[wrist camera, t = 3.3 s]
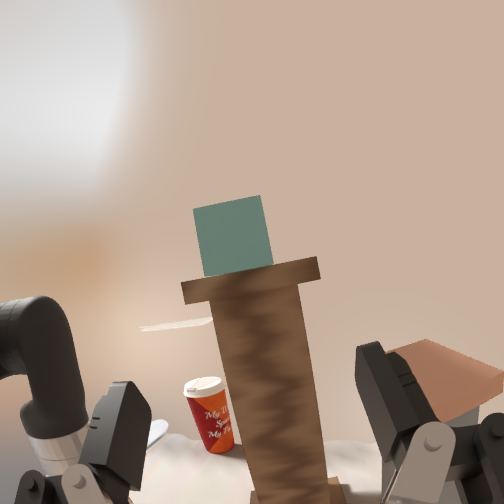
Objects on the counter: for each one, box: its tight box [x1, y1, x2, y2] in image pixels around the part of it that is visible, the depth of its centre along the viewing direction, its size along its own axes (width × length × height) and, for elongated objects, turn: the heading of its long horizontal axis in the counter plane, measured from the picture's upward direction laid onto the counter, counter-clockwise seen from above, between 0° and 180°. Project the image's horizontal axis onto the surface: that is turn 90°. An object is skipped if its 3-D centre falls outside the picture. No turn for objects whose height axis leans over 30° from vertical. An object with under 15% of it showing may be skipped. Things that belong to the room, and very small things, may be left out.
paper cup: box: [184, 377, 234, 453], centre depth 50 cm, size 8×8×14 cm
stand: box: [181, 256, 346, 504], centre depth 30 cm, size 12×8×32 cm, turn 88°
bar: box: [193, 195, 273, 276], centre depth 30 cm, size 4×24×4 cm, turn 177°
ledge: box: [381, 339, 504, 504], centre depth 19 cm, size 7×12×22 cm, turn 177°
